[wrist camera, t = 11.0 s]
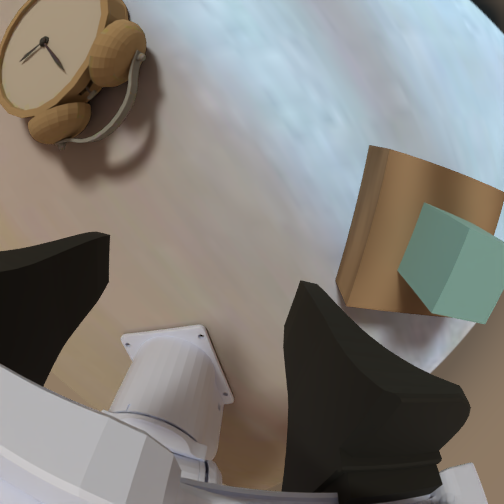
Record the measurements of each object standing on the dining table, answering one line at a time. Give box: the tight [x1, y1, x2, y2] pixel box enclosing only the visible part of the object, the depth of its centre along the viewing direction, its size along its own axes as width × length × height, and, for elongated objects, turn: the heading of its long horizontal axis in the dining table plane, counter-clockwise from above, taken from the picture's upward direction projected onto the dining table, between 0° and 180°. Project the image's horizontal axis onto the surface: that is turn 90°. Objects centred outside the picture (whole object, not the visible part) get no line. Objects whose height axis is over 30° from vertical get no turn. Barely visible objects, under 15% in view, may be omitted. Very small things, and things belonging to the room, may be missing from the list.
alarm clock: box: [0, 0, 146, 150], centre depth 15 cm, size 11×5×15 cm
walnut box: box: [335, 145, 504, 318], centre depth 19 cm, size 10×10×4 cm
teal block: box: [397, 203, 504, 324], centre depth 15 cm, size 5×5×5 cm
